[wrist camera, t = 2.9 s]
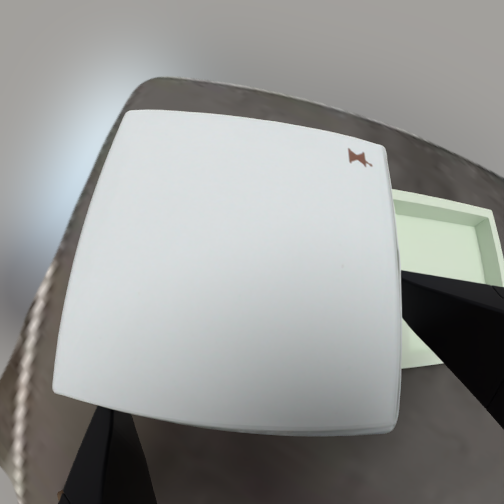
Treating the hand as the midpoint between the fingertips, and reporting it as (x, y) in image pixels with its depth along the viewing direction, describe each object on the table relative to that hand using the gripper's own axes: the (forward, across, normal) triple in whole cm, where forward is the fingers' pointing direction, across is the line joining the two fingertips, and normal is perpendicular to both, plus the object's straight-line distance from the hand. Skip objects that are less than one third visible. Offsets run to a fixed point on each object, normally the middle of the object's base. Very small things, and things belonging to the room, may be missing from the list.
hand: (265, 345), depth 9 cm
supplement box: (+8, 0, +6) cm, 10 cm away
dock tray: (+5, -15, +8) cm, 18 cm away
